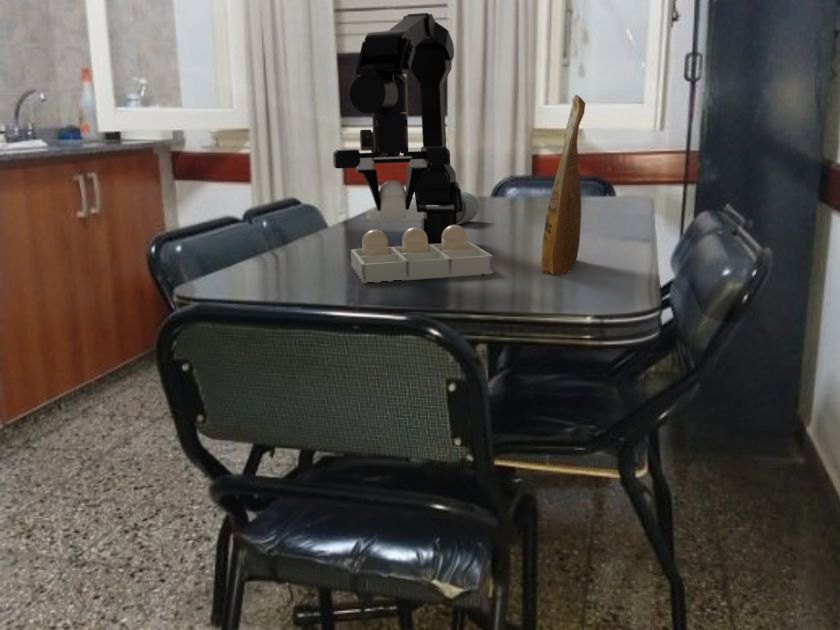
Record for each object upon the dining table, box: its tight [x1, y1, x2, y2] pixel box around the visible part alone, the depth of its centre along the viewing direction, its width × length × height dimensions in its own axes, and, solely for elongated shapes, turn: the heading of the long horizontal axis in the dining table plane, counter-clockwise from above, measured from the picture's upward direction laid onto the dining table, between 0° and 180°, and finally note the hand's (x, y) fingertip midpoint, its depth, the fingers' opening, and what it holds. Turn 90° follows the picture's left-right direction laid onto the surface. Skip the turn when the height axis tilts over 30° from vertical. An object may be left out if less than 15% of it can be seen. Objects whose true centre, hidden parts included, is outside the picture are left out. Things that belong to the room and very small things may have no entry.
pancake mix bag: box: [541, 94, 586, 276], centre depth 129 cm, size 7×19×28 cm, turn 164°
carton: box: [350, 225, 494, 284], centre depth 132 cm, size 22×15×7 cm
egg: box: [379, 179, 407, 220], centre depth 130 cm, size 4×4×6 cm
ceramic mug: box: [437, 191, 480, 226], centre depth 185 cm, size 11×8×8 cm
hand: (393, 210), depth 130 cm, fingers closed on egg, 4 cm apart
